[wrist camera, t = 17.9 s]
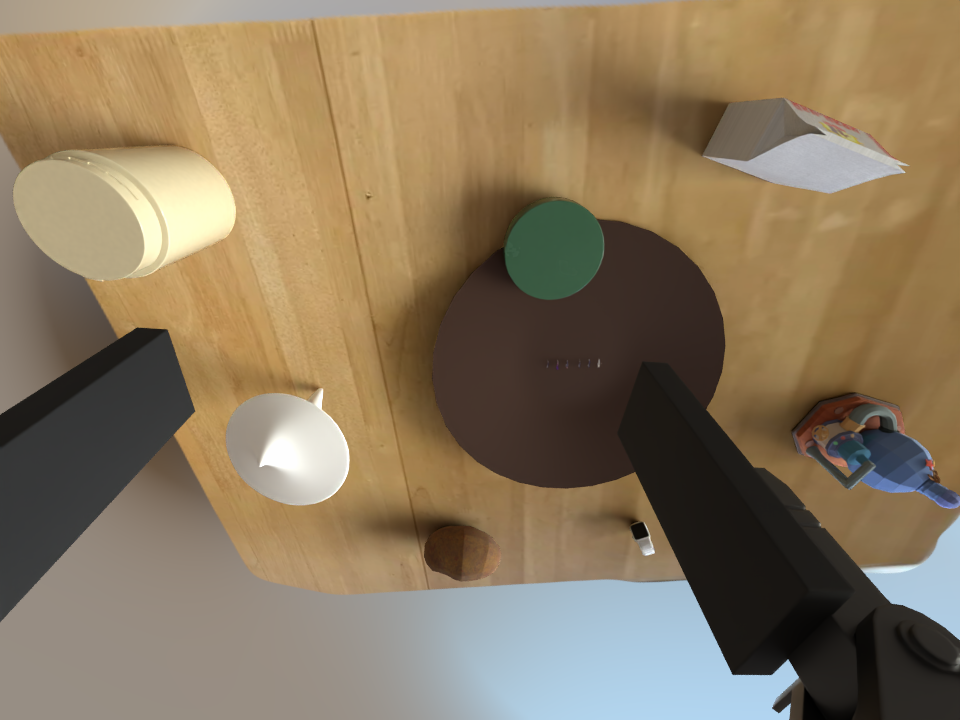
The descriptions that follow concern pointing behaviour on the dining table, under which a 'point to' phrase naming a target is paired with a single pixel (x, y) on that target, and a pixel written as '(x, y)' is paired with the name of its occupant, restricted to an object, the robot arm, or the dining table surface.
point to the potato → (462, 553)
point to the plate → (572, 359)
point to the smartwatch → (642, 537)
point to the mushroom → (288, 448)
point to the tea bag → (797, 147)
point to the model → (869, 447)
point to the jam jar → (123, 208)
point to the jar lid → (553, 248)
